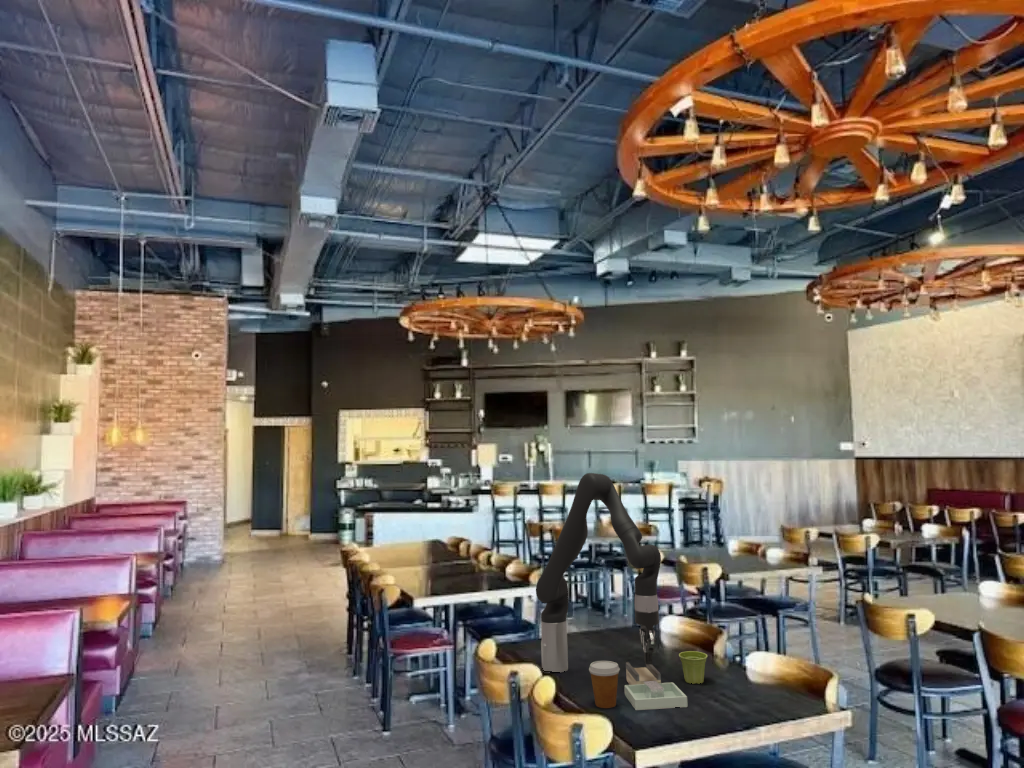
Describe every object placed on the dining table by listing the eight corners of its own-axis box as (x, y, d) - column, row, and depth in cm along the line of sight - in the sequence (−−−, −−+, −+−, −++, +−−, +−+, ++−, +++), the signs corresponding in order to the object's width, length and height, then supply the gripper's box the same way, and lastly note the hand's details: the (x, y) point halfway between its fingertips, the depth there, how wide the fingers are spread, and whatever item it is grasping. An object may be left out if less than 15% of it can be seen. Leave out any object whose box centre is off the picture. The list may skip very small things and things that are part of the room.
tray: (635, 710, 217) (635, 699, 217) (624, 694, 231) (624, 685, 231) (687, 707, 218) (687, 696, 219) (673, 691, 232) (673, 682, 233)
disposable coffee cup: (613, 712, 216) (611, 670, 217) (585, 707, 221) (583, 666, 222) (626, 702, 224) (624, 662, 225) (598, 697, 229) (596, 658, 230)
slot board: (637, 694, 231) (636, 674, 232) (626, 680, 245) (625, 662, 246) (661, 692, 232) (660, 673, 233) (649, 679, 246) (648, 661, 246)
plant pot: (713, 680, 242) (712, 654, 243) (700, 687, 235) (698, 660, 236) (689, 675, 249) (687, 649, 250) (674, 682, 242) (673, 655, 243)
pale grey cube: (648, 698, 225) (651, 703, 221) (647, 685, 225) (651, 689, 221) (660, 697, 225) (664, 702, 221) (659, 684, 226) (663, 688, 222)
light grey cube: (647, 698, 225) (647, 685, 225) (644, 694, 229) (643, 681, 229) (660, 697, 225) (659, 684, 226) (656, 693, 229) (655, 680, 230)
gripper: (630, 604, 238) (631, 658, 237) (640, 613, 225) (642, 670, 224) (652, 603, 239) (654, 657, 237) (663, 612, 226) (666, 669, 224)
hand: (648, 663), depth 231 cm, fingers closed
